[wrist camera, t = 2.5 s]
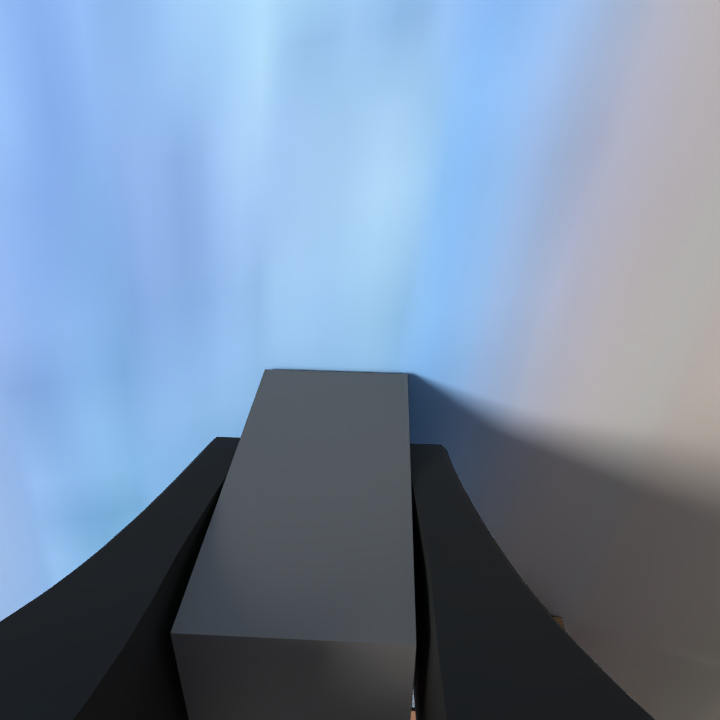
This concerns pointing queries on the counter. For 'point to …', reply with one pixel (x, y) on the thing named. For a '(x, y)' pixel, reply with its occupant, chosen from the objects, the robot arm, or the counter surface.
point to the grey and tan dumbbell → (308, 560)
